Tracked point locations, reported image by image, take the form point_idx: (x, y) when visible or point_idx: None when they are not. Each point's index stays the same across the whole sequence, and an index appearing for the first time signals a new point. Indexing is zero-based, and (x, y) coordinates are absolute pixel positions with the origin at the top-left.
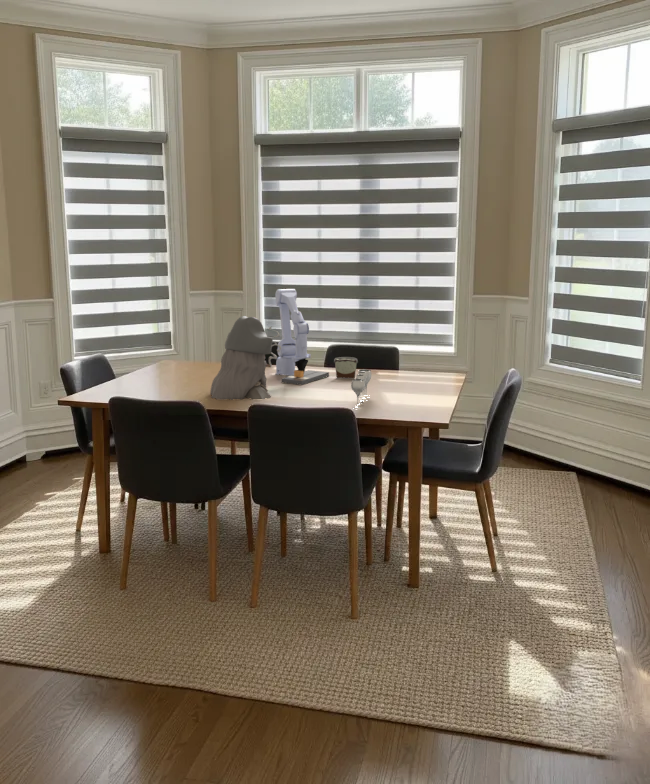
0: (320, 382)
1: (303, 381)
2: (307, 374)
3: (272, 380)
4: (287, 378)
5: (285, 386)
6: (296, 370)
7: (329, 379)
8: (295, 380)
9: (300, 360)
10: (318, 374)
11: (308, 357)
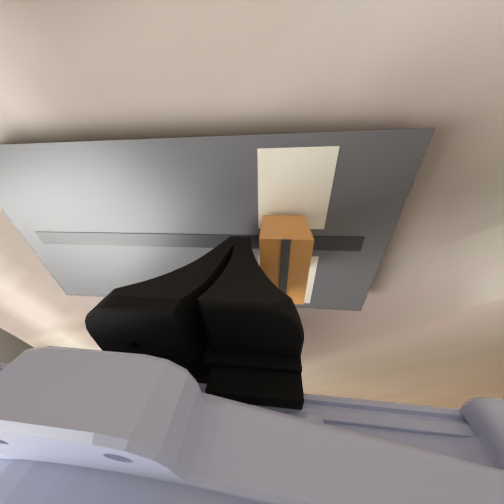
0: (222, 20)
1: (398, 129)
2: (158, 242)
3: (314, 337)
4: (349, 285)
5: (492, 218)
6: (286, 293)
7: (53, 36)
8: (398, 209)
9: (285, 382)
10: (87, 171)
11: (54, 364)
